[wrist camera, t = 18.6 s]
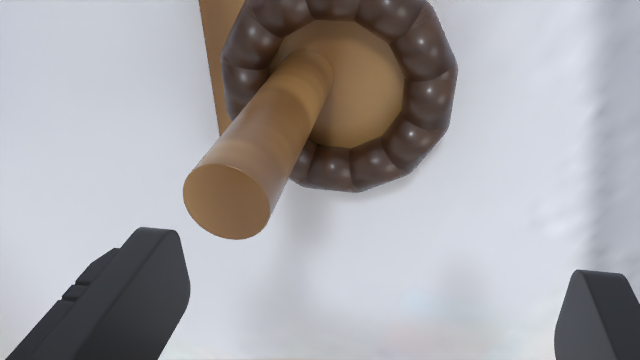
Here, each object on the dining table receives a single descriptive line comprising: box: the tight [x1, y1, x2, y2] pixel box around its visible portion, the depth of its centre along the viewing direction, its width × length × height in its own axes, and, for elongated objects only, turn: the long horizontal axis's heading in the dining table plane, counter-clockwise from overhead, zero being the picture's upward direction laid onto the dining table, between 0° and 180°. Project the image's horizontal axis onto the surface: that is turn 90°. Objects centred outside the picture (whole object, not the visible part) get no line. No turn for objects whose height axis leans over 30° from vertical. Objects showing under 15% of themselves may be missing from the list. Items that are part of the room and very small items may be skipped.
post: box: [183, 0, 405, 240], centre depth 17 cm, size 9×9×11 cm
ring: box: [221, 0, 458, 193], centre depth 20 cm, size 10×10×2 cm
